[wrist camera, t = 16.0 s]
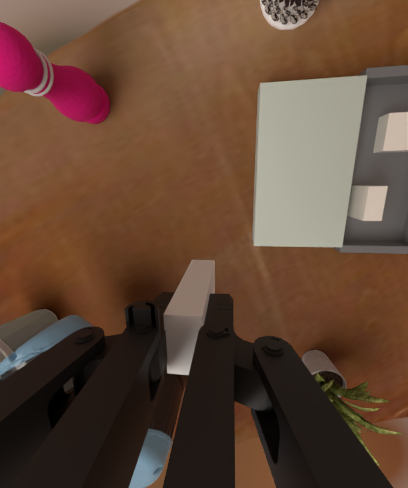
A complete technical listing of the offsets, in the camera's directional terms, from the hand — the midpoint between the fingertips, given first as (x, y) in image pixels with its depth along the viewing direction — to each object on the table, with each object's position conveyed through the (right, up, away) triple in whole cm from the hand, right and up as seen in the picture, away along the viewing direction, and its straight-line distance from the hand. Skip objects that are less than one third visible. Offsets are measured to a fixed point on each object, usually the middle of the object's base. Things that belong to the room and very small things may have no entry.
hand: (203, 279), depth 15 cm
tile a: (+24, +9, +21) cm, 33 cm away
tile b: (+29, +18, +18) cm, 38 cm away
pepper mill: (-19, +27, +25) cm, 41 cm away
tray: (+29, +14, +22) cm, 39 cm away
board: (+16, +15, +24) cm, 32 cm away
